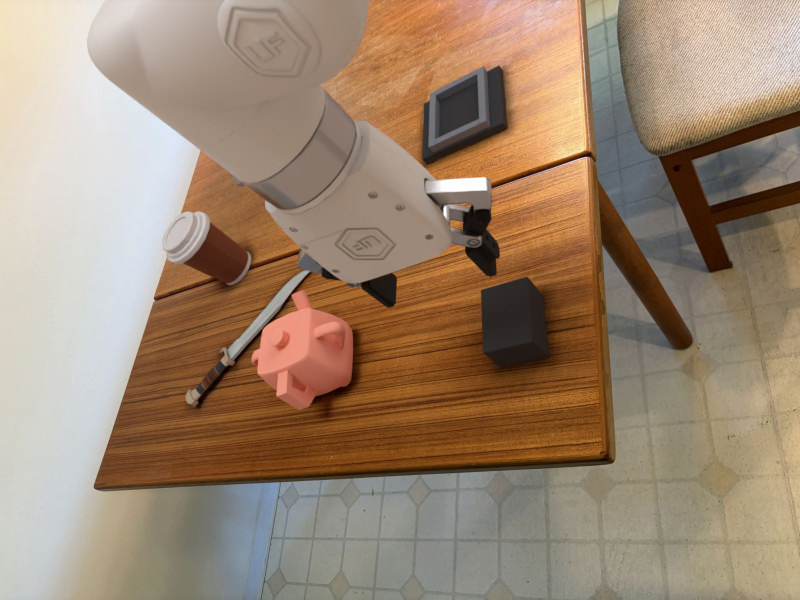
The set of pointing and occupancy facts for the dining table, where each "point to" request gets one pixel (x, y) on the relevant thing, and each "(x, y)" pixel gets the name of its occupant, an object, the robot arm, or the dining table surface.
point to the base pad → (463, 113)
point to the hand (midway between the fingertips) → (440, 277)
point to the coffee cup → (205, 248)
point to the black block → (514, 323)
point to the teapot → (305, 353)
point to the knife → (244, 339)
